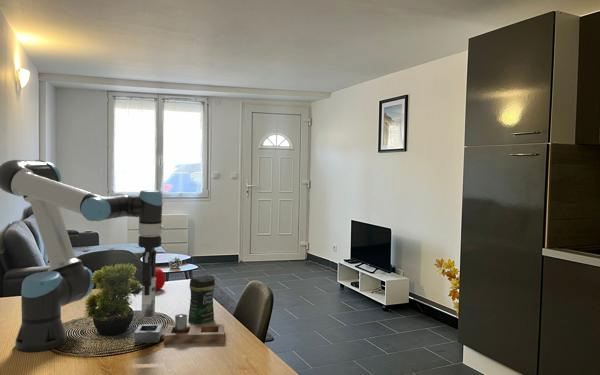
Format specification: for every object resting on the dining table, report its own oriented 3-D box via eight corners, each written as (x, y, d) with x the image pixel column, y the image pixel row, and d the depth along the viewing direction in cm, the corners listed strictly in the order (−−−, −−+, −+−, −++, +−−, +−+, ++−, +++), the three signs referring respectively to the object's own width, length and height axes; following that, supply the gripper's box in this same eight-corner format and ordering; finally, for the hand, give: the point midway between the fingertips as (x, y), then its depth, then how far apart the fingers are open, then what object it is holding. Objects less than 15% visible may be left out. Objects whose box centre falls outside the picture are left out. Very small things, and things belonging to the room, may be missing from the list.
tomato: (164, 292, 227) (165, 270, 227) (141, 293, 224) (142, 270, 224) (164, 286, 237) (165, 265, 237) (142, 287, 234) (142, 266, 234)
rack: (163, 347, 160) (164, 335, 160) (167, 336, 170) (168, 325, 170) (223, 345, 163) (224, 334, 163) (224, 335, 173) (224, 324, 172)
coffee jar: (197, 328, 179) (198, 279, 178) (185, 323, 184) (185, 276, 183) (217, 322, 186) (218, 275, 185) (205, 317, 191) (206, 272, 191)
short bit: (174, 340, 163) (174, 317, 163) (175, 336, 167) (175, 314, 167) (186, 340, 164) (186, 317, 163) (187, 336, 168) (187, 313, 167)
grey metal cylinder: (139, 317, 162) (140, 279, 161) (142, 312, 167) (143, 276, 166) (153, 317, 163) (154, 279, 162) (156, 312, 167) (157, 276, 167)
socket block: (134, 345, 160) (134, 332, 160) (138, 337, 168) (139, 324, 168) (158, 344, 162) (158, 332, 161) (162, 336, 169) (162, 324, 169)
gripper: (157, 239, 155) (155, 309, 156) (164, 231, 172) (163, 294, 174) (133, 239, 154) (131, 309, 155) (143, 231, 171) (141, 294, 173)
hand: (148, 301), depth 164 cm, fingers closed on grey metal cylinder, 5 cm apart
